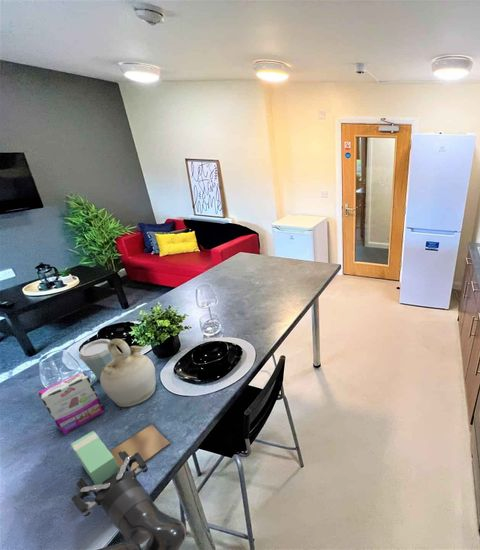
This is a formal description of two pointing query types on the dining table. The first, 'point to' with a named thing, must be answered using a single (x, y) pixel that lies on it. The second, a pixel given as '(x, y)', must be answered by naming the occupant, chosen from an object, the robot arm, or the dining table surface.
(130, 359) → the jug
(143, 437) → the cork mat
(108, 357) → the disposable coffee cup
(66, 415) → the candy bar box
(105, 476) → the green carton
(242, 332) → the dining table surface
